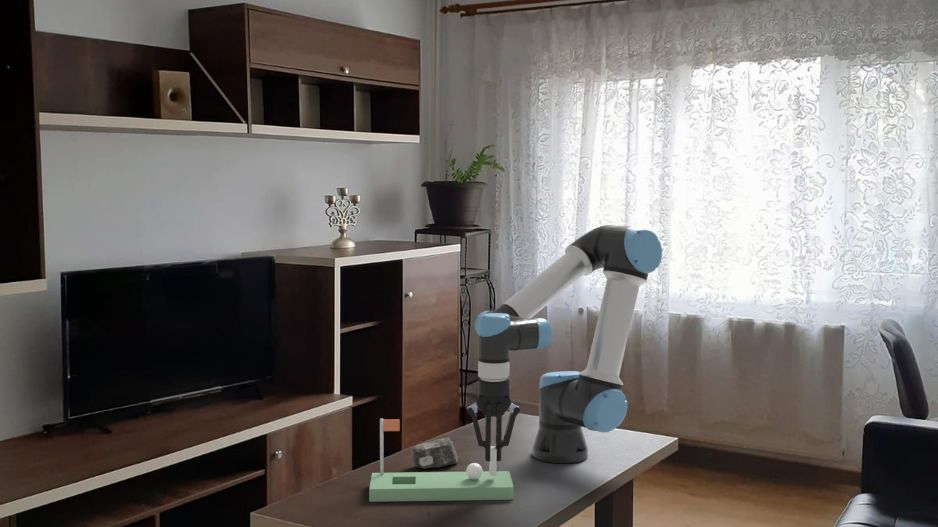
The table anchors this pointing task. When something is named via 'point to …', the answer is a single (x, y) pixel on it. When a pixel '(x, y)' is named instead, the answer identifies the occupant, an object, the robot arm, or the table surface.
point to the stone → (434, 454)
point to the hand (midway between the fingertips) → (492, 473)
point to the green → (435, 482)
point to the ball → (474, 471)
